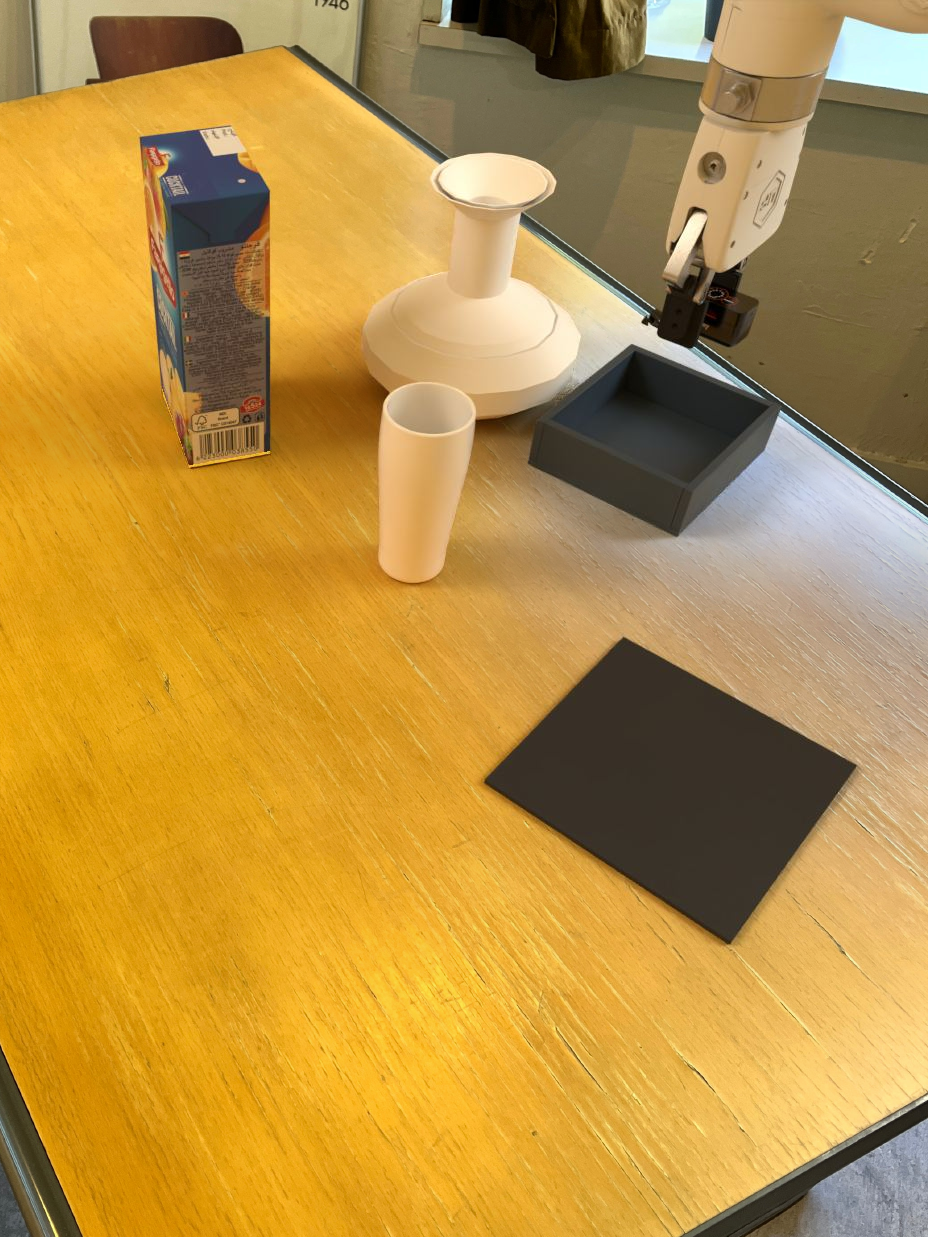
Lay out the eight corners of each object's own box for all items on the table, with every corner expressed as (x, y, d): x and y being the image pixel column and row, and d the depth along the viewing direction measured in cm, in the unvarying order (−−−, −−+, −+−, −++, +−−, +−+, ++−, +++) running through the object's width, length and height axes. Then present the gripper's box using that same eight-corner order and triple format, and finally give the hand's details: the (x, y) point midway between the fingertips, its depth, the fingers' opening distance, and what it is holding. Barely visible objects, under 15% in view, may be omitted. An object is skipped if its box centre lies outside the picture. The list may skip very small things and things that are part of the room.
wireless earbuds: (670, 306, 93) (680, 269, 90) (749, 338, 89) (762, 300, 87) (638, 328, 91) (648, 291, 88) (718, 362, 87) (730, 324, 85)
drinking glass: (358, 582, 90) (371, 426, 78) (380, 529, 94) (394, 373, 83) (442, 601, 88) (467, 444, 77) (460, 545, 92) (486, 389, 81)
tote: (764, 450, 100) (782, 405, 97) (677, 537, 93) (692, 492, 89) (619, 387, 107) (631, 343, 103) (527, 463, 99) (536, 419, 96)
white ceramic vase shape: (614, 385, 107) (667, 185, 93) (469, 472, 99) (502, 266, 84) (460, 302, 117) (486, 109, 103) (316, 373, 109) (323, 175, 95)
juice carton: (270, 455, 101) (270, 190, 83) (189, 469, 99) (170, 204, 81) (237, 381, 108) (230, 124, 90) (161, 393, 107) (139, 136, 89)
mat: (855, 768, 77) (857, 764, 77) (729, 945, 68) (731, 942, 68) (622, 639, 85) (623, 636, 85) (483, 782, 76) (484, 779, 76)
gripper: (755, 142, 71) (682, 391, 84) (868, 61, 79) (785, 301, 92) (647, 112, 74) (594, 356, 88) (766, 38, 82) (701, 271, 96)
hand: (693, 325), depth 90 cm, fingers closed on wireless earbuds, 4 cm apart
